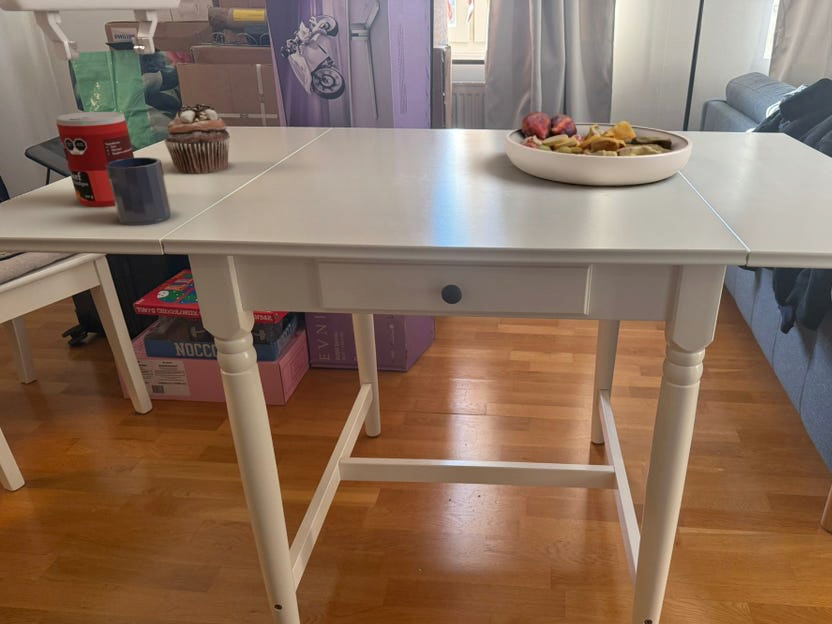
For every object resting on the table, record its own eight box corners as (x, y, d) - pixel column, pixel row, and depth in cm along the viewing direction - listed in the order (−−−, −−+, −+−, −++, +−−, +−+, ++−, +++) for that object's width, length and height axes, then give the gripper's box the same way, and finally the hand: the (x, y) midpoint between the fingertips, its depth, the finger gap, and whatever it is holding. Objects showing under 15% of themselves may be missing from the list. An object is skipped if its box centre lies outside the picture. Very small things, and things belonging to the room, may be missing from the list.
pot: (109, 221, 83) (94, 164, 80) (150, 210, 88) (138, 155, 85) (141, 229, 81) (127, 170, 78) (182, 216, 86) (171, 160, 82)
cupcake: (216, 160, 115) (205, 97, 110) (244, 169, 109) (234, 104, 104) (160, 168, 109) (146, 103, 104) (187, 179, 103) (173, 110, 98)
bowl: (714, 165, 114) (723, 117, 111) (638, 202, 93) (646, 144, 89) (562, 144, 130) (565, 101, 126) (467, 171, 109) (467, 120, 105)
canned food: (78, 197, 93) (55, 113, 88) (141, 190, 97) (123, 110, 91) (78, 211, 87) (53, 122, 82) (145, 203, 91) (125, 118, 85)
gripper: (141, -80, 78) (167, 50, 85) (-49, -101, 62) (0, 61, 69) (179, -83, 76) (202, 52, 82) (-10, -105, 60) (37, 64, 66)
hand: (109, 56), depth 76 cm, fingers open, 8 cm apart
